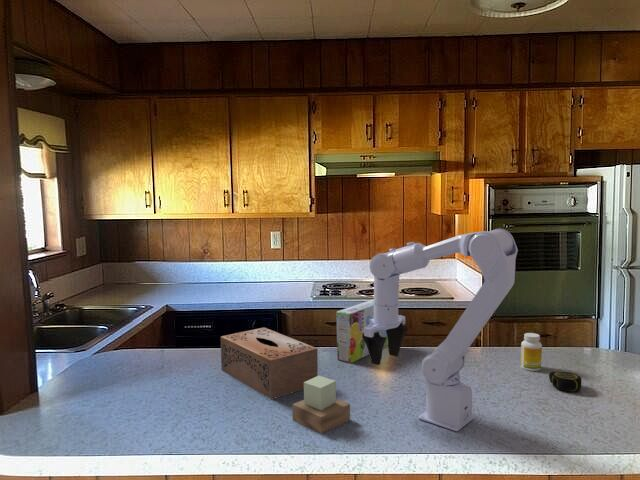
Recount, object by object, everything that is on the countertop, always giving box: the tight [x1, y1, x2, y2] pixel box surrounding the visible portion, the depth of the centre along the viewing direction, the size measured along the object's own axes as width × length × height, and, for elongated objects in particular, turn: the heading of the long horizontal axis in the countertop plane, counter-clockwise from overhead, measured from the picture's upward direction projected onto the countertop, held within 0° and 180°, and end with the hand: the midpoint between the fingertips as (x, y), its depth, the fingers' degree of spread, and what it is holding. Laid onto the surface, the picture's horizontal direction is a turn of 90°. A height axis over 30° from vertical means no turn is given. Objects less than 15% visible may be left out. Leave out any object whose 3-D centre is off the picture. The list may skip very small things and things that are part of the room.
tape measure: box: [548, 370, 582, 392], centre depth 129 cm, size 7×7×4 cm
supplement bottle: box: [519, 332, 543, 372], centre depth 143 cm, size 5×5×10 cm
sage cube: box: [303, 375, 337, 410], centre depth 113 cm, size 5×5×5 cm
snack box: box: [335, 298, 388, 364], centre depth 157 cm, size 21×6×15 cm, turn 141°
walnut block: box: [291, 398, 351, 435], centre depth 113 cm, size 9×9×4 cm
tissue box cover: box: [219, 326, 319, 400], centre depth 138 cm, size 26×14×10 cm, turn 38°
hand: (384, 359), depth 121 cm, fingers open, 7 cm apart
